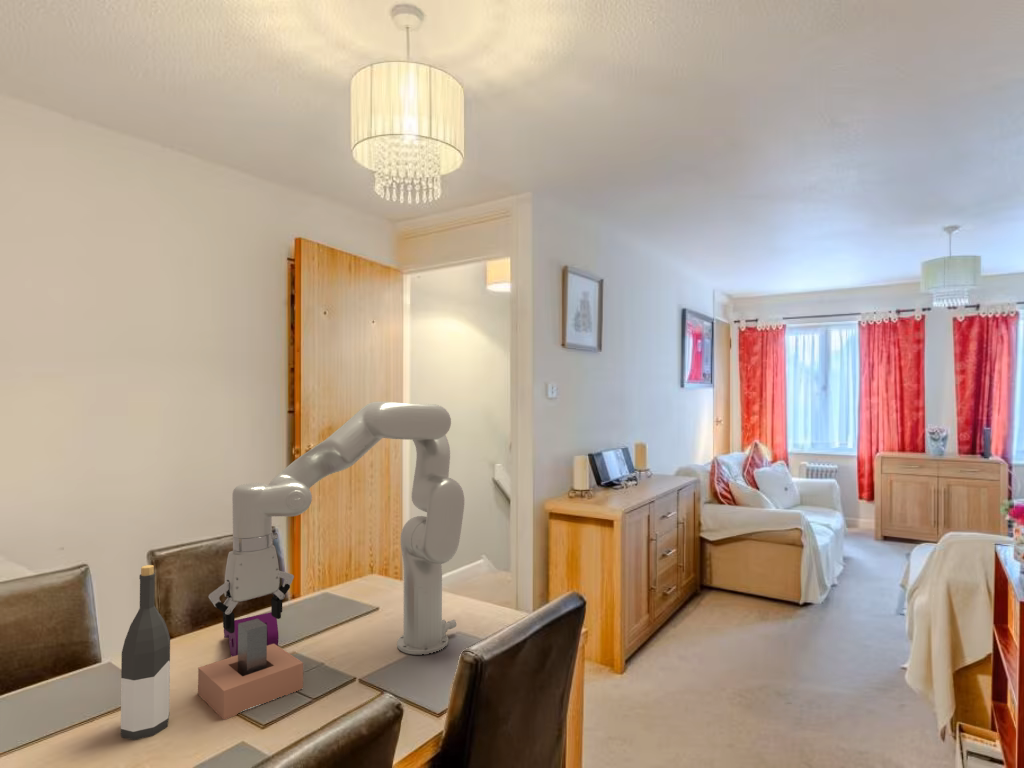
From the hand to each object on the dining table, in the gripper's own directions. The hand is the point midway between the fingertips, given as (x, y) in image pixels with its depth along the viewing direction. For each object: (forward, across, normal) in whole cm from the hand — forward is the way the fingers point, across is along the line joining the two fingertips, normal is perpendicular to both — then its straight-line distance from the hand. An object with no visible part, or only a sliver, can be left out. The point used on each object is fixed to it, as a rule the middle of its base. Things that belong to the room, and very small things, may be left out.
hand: (253, 624), depth 121 cm
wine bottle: (+14, +20, -1) cm, 24 cm away
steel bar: (+14, 0, 0) cm, 14 cm away
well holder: (+14, +1, 0) cm, 14 cm away
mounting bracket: (+14, -8, -24) cm, 29 cm away
